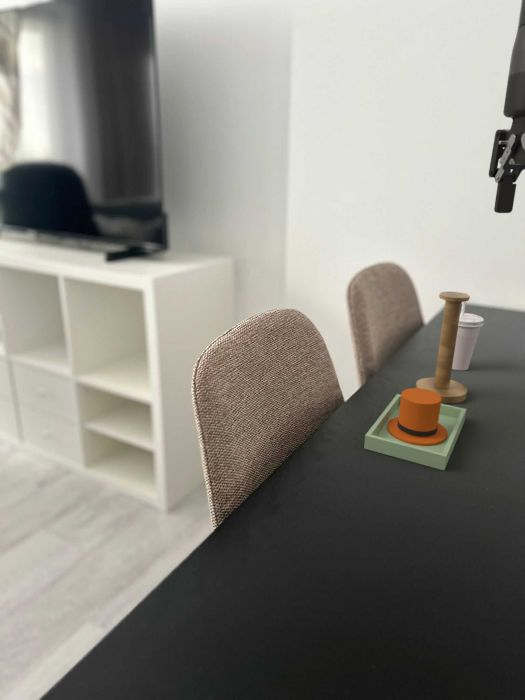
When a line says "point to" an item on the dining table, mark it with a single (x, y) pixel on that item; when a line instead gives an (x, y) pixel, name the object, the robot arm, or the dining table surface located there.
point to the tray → (424, 455)
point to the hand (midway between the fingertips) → (520, 215)
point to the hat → (418, 418)
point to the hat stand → (447, 352)
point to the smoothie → (466, 339)
